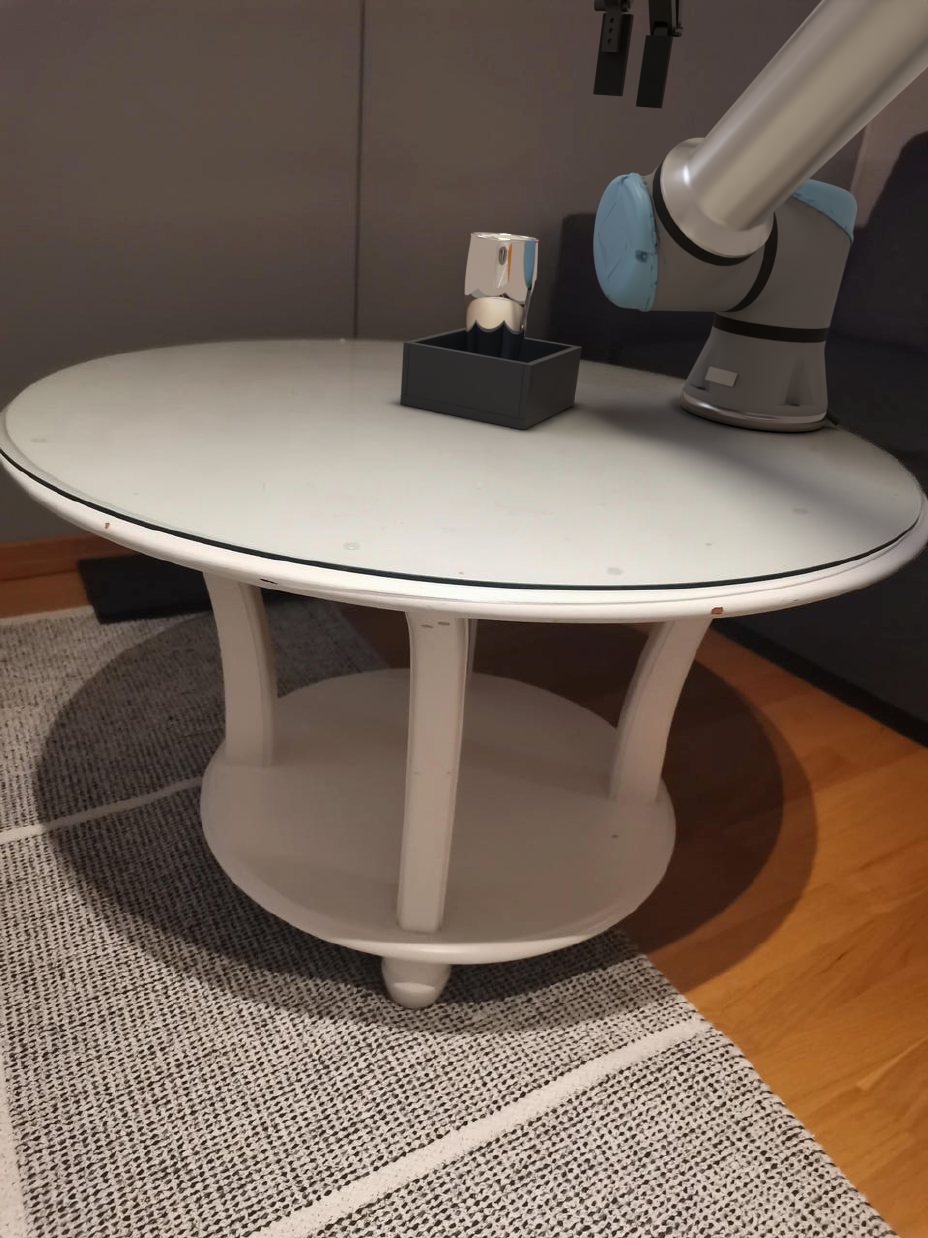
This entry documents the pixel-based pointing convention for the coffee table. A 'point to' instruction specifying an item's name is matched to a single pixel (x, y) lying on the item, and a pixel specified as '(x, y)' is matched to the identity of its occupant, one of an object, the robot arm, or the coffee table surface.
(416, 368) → the bin
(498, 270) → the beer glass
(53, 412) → the coffee table surface
